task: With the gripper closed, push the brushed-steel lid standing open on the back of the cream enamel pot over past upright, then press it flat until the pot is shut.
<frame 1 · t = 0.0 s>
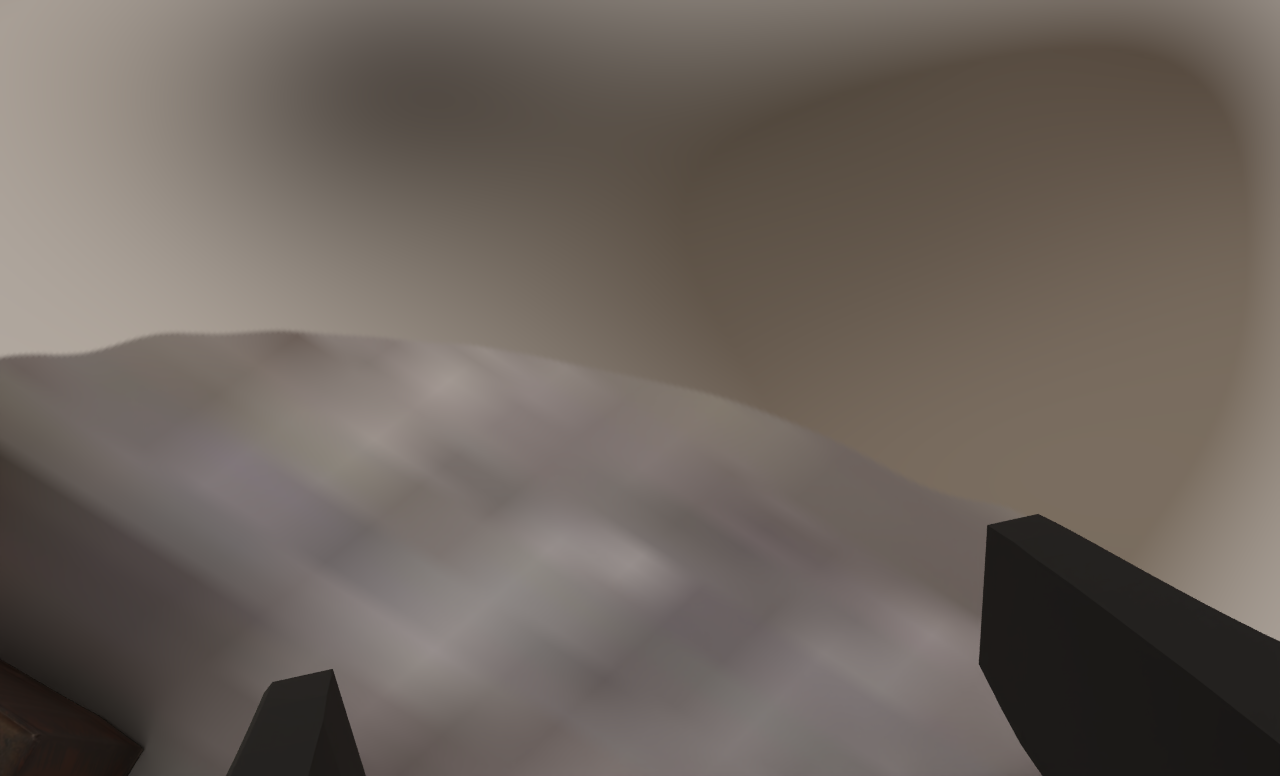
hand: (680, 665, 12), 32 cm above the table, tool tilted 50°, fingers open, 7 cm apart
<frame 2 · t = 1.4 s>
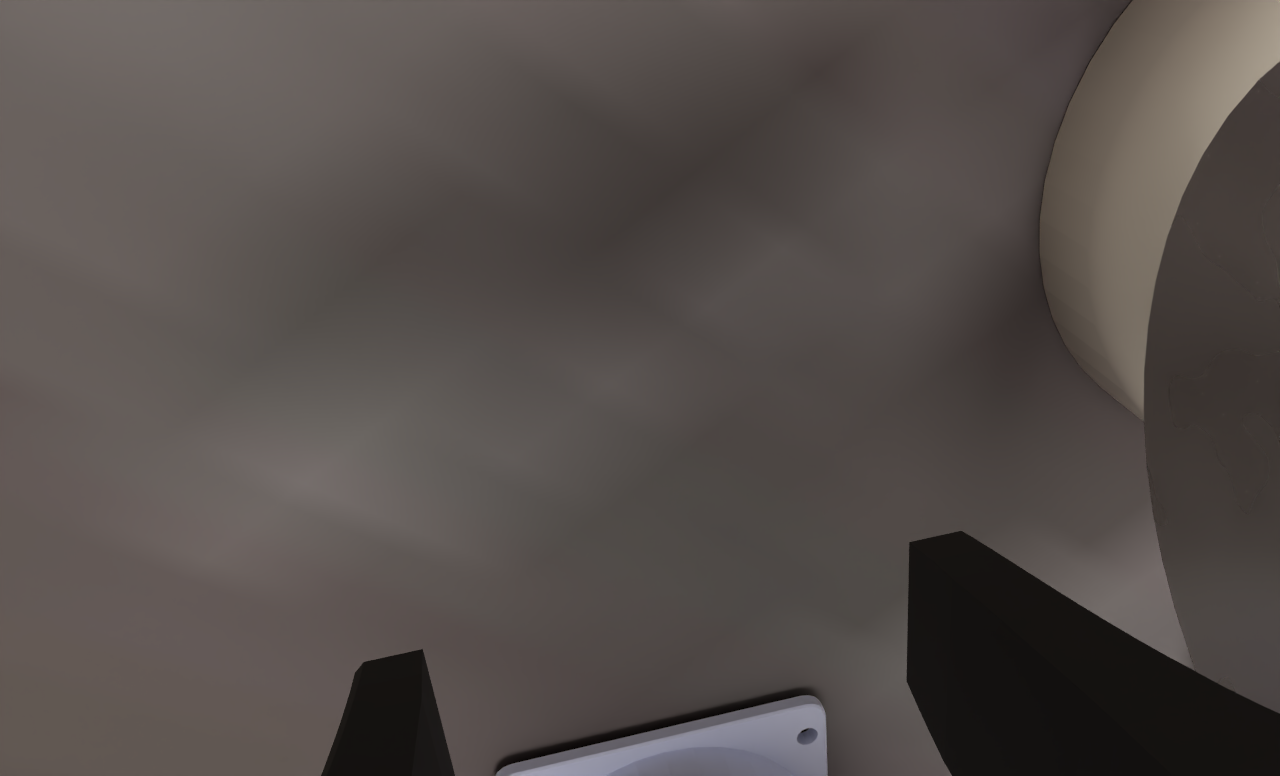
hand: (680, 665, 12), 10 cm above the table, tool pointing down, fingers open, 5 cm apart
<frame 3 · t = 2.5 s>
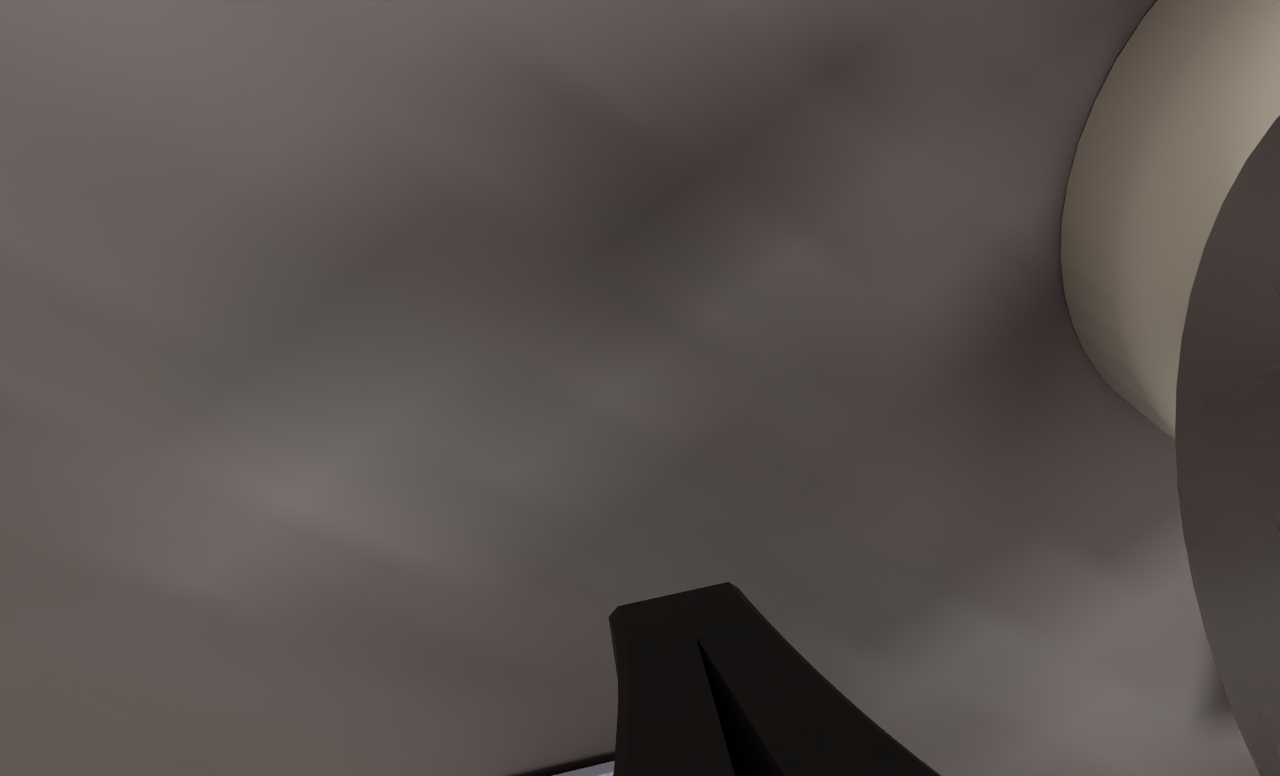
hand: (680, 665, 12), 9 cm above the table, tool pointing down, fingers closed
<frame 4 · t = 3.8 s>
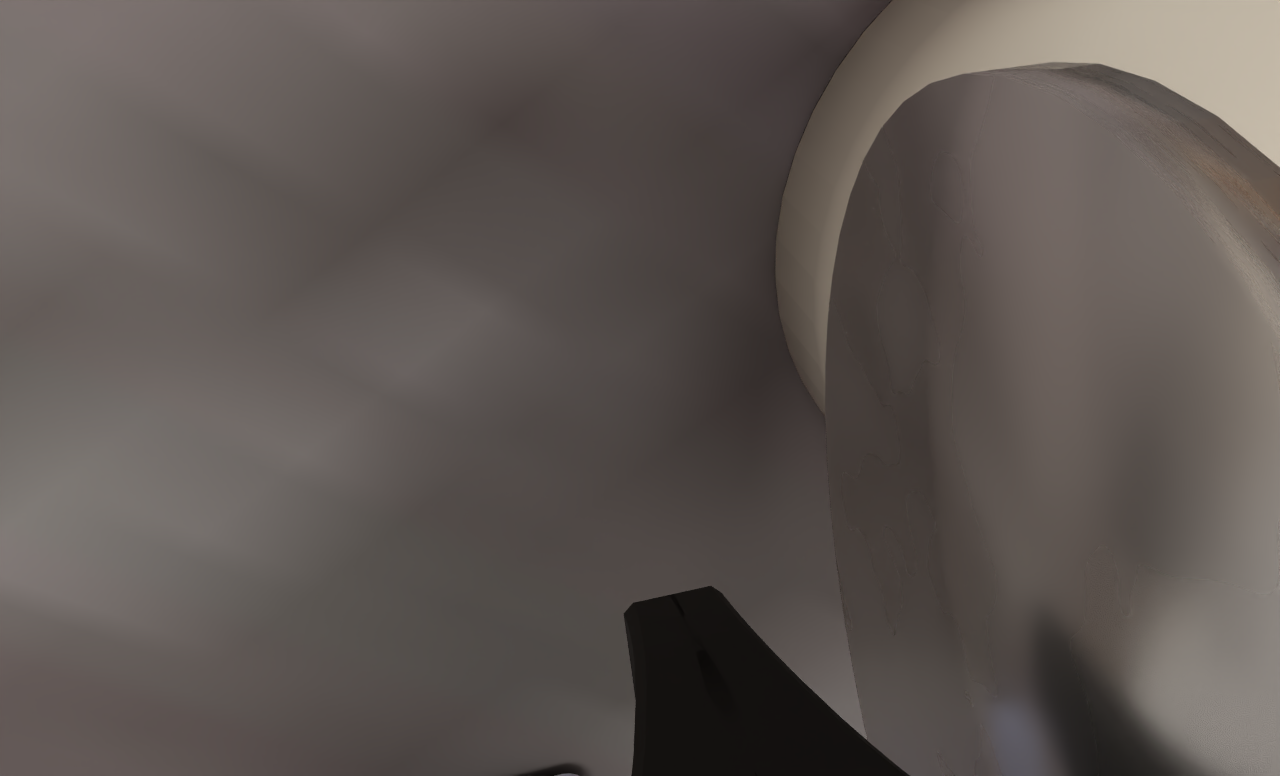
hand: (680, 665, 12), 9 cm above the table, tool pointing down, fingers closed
pot: (1072, 224, 22), on the table
lid: (989, 720, 11), point 11 cm above the table, hinge at 94.3°, touching gripper
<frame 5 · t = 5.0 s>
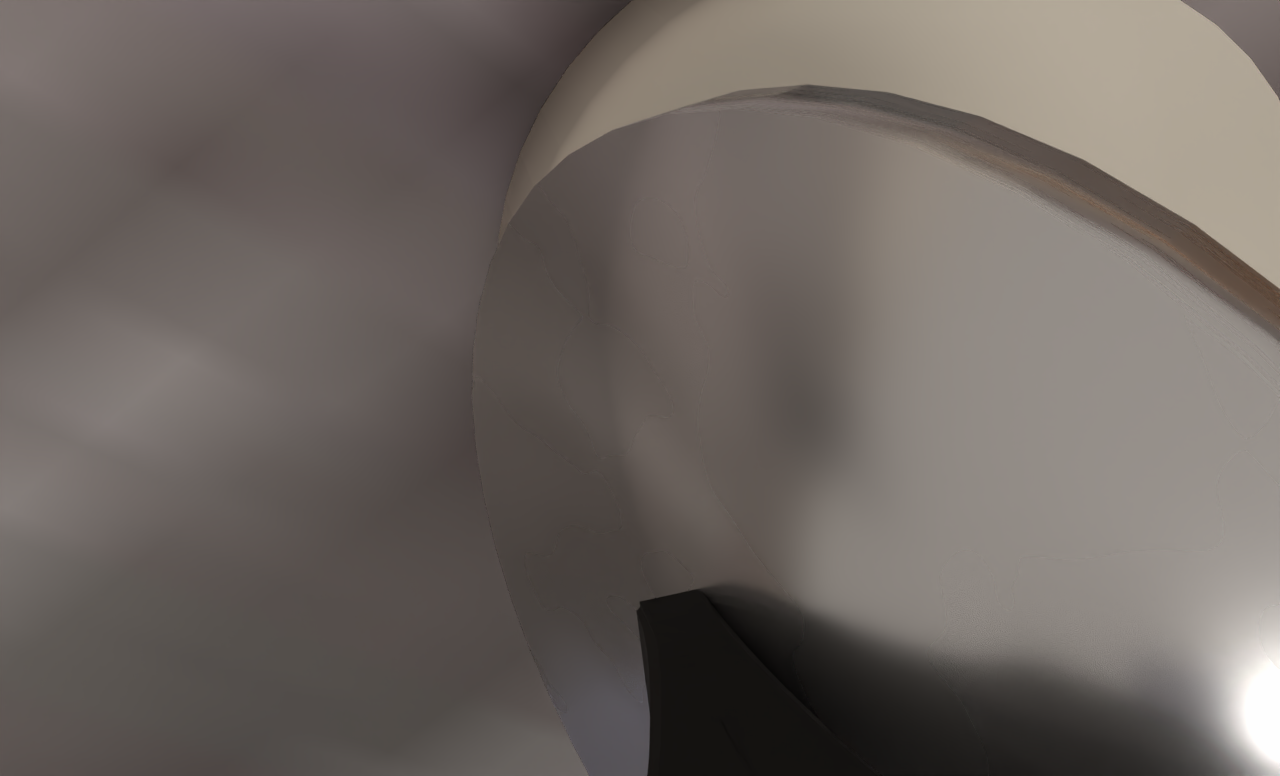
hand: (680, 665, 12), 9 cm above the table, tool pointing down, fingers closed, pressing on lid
pot: (822, 266, 21), on the table
lid: (820, 754, 11), point 11 cm above the table, hinge at 62.1°, touching gripper
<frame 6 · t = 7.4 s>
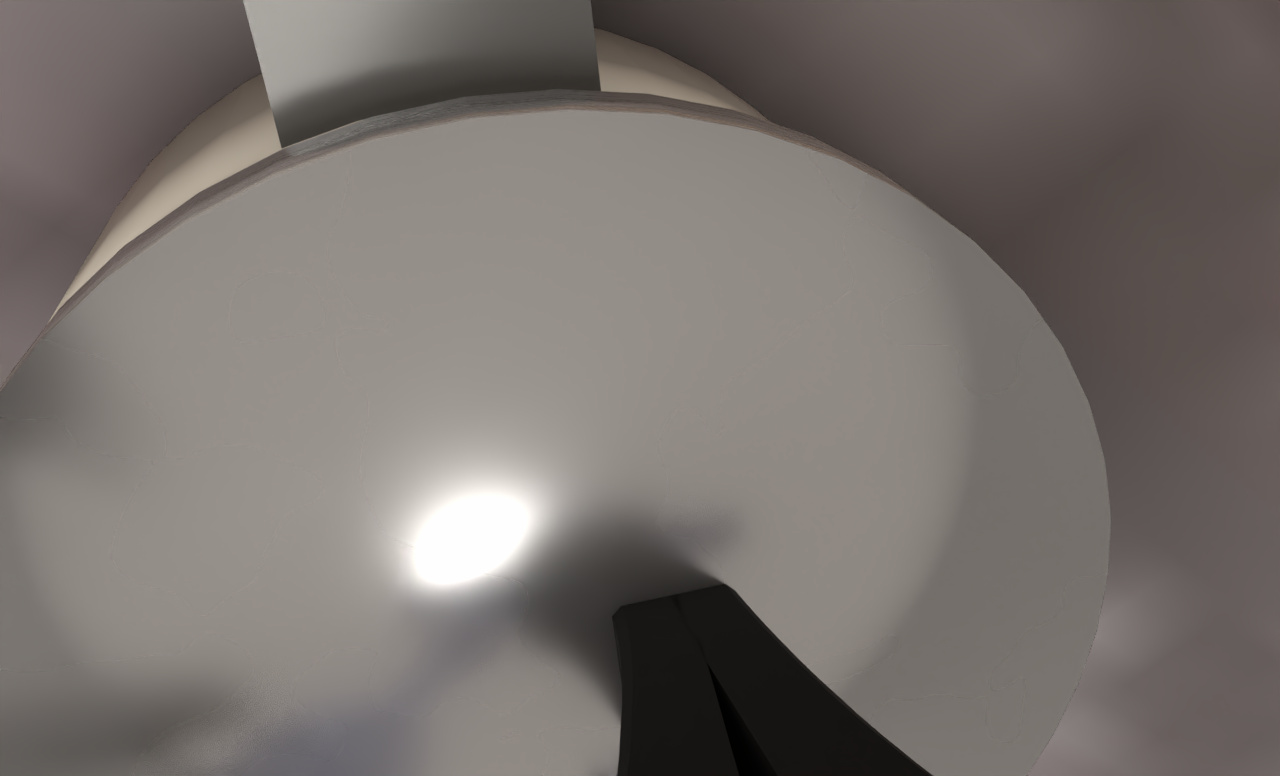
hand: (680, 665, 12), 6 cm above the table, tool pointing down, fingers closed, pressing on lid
pot: (496, 424, 17), on the table
lid: (571, 699, 12), point 6 cm above the table, hinge at 0.9°, touching gripper
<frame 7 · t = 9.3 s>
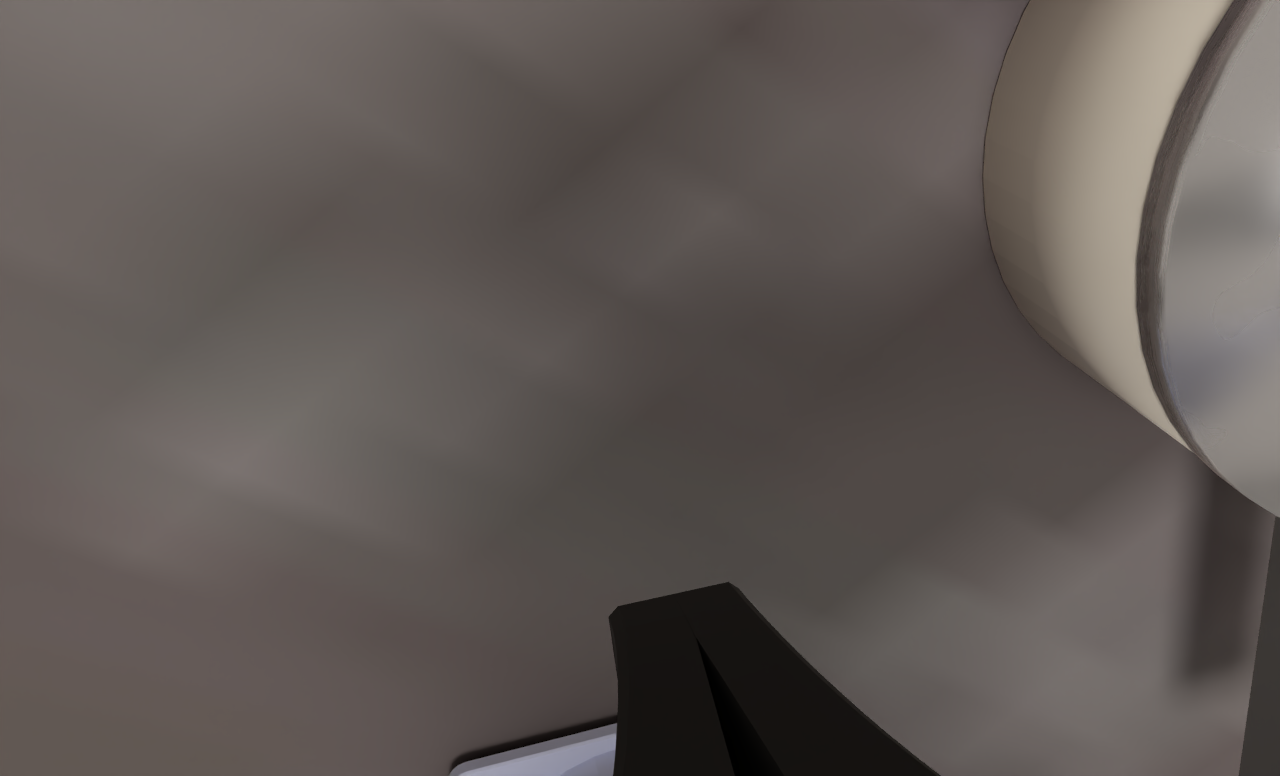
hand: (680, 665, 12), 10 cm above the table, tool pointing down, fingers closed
pot: (1260, 121, 23), on the table
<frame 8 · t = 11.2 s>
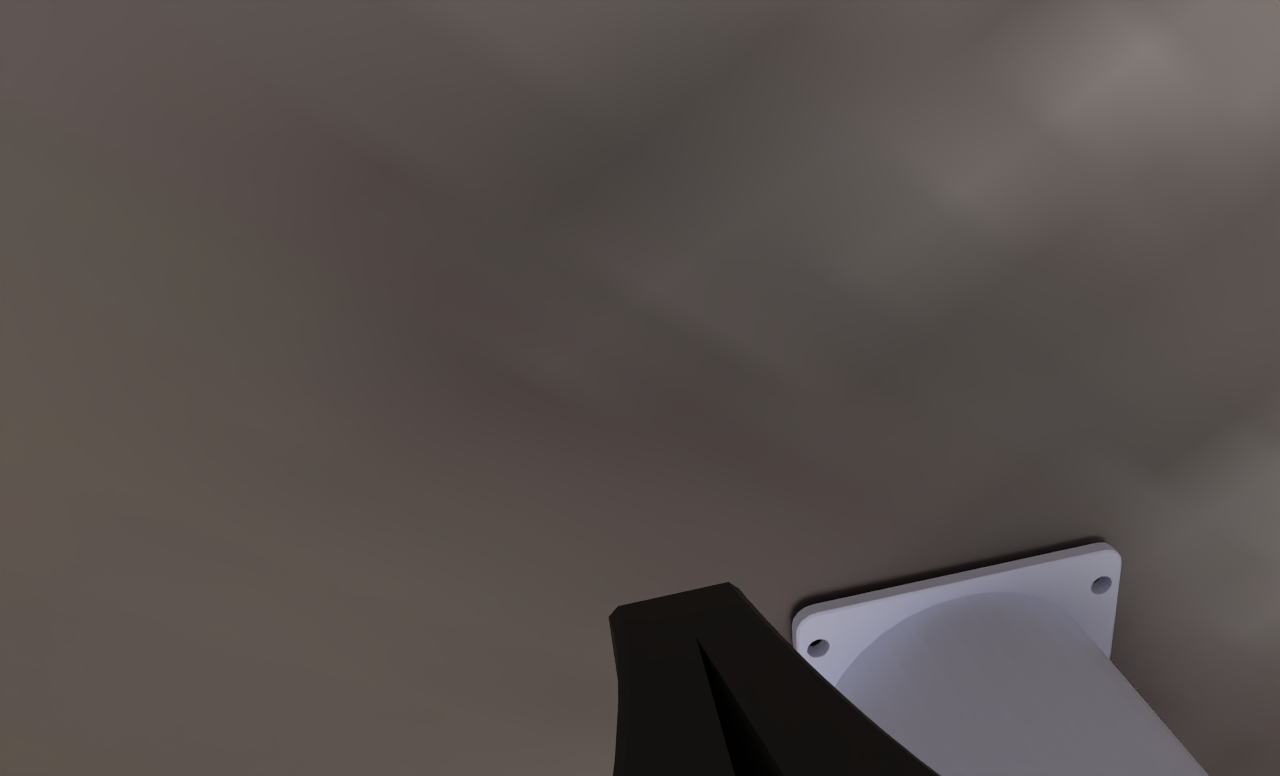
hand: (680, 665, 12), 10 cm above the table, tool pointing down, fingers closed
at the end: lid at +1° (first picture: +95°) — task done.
